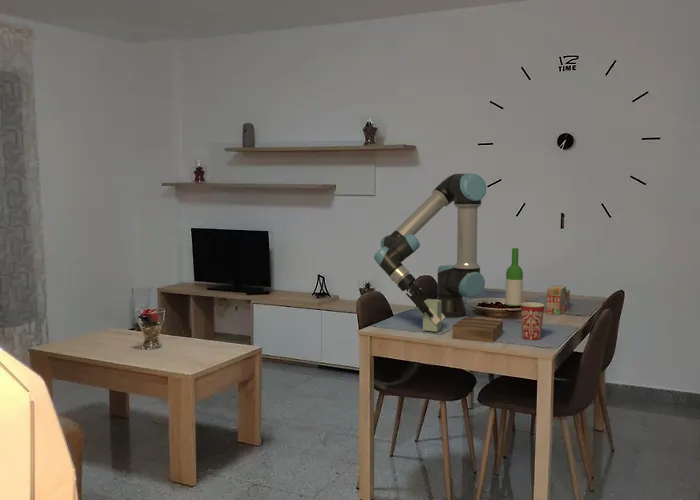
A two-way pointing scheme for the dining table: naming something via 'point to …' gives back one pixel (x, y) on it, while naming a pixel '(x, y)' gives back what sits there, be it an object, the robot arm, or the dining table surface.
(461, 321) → the walnut riser
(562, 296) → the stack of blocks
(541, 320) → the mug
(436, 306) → the green block
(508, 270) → the wine bottle
